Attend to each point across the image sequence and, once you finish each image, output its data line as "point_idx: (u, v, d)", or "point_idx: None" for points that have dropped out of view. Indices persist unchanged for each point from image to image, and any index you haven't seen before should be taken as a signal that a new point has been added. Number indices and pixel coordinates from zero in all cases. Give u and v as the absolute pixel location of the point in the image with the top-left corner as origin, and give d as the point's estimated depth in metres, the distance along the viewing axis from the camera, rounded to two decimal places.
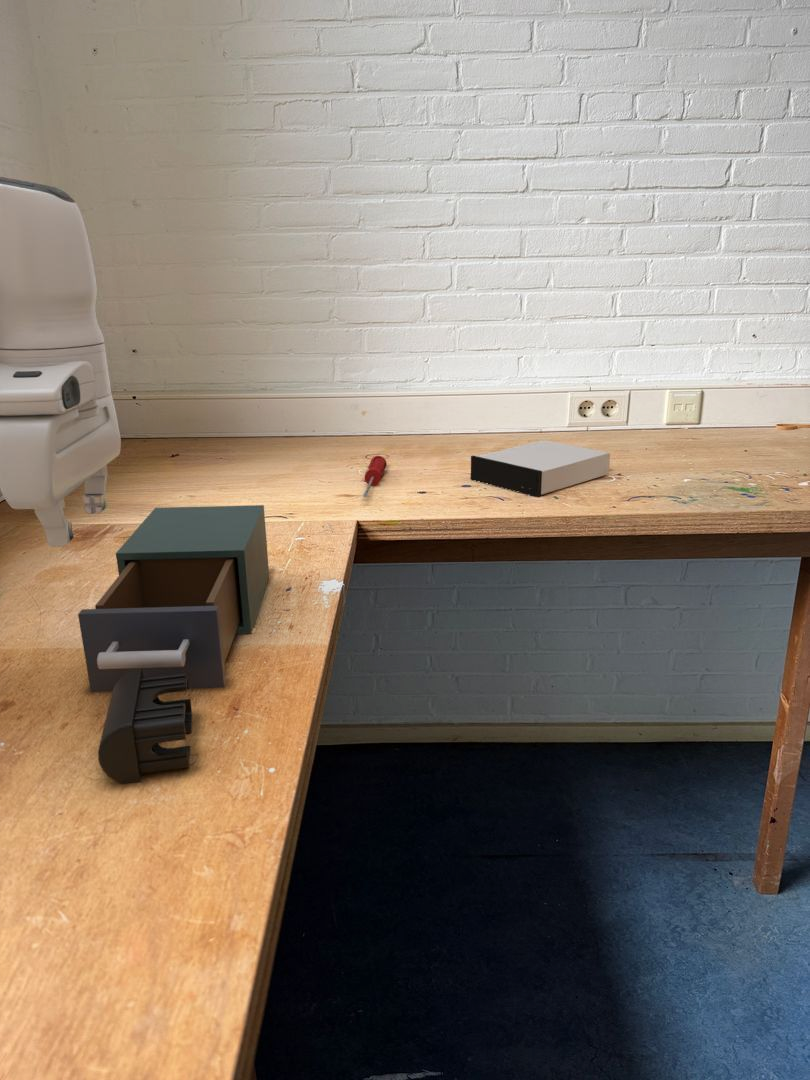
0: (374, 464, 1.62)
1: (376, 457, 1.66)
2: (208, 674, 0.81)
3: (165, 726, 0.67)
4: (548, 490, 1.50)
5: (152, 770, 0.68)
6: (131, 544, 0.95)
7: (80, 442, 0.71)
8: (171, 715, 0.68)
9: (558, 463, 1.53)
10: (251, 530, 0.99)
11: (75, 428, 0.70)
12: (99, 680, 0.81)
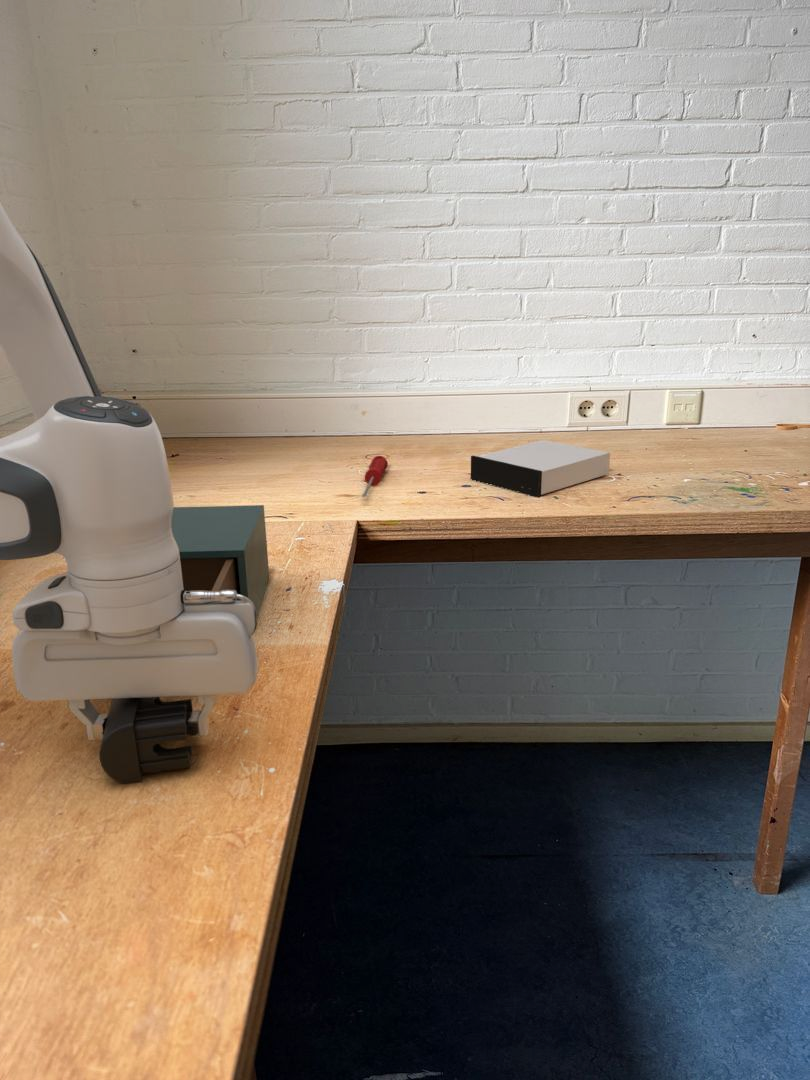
0: (375, 464, 1.62)
1: (377, 457, 1.66)
2: None
3: (166, 726, 0.67)
4: (548, 490, 1.50)
5: (153, 770, 0.68)
6: None
7: (116, 661, 0.67)
8: (172, 715, 0.68)
9: (558, 463, 1.53)
10: (251, 530, 0.99)
11: (112, 647, 0.67)
12: None
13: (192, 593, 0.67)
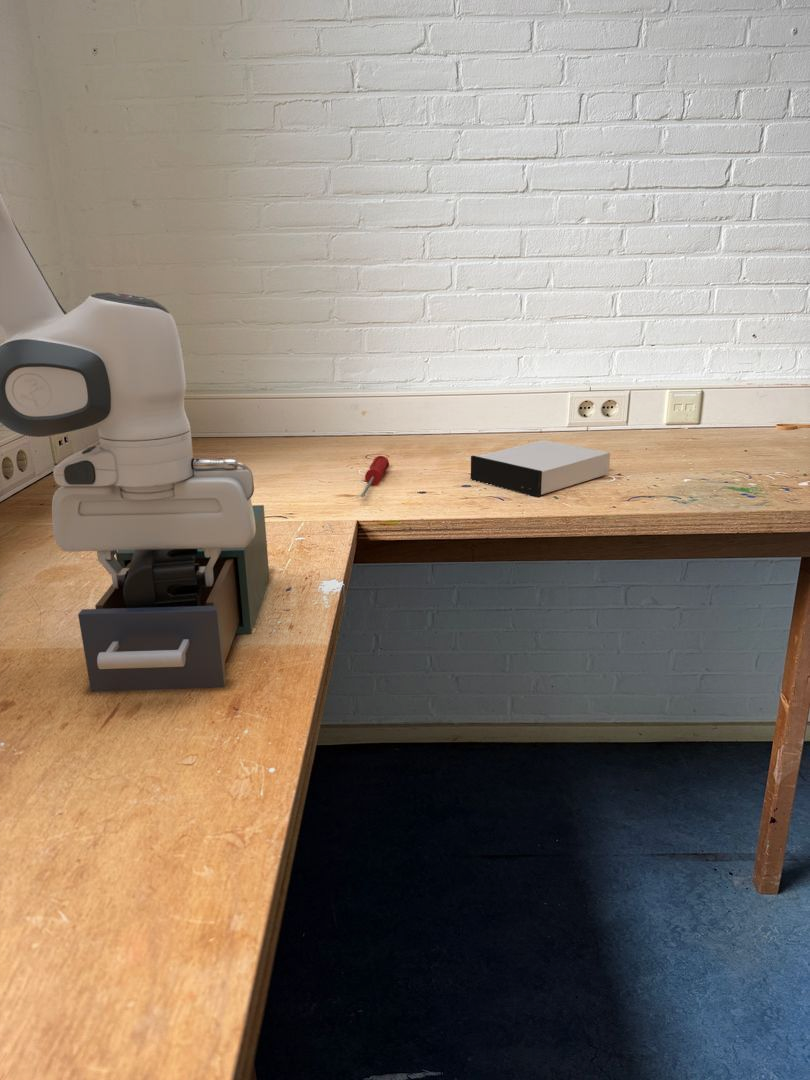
0: (376, 464, 1.62)
1: (378, 457, 1.66)
2: (208, 674, 0.81)
3: (178, 570, 0.81)
4: (548, 490, 1.50)
5: None
6: None
7: (137, 517, 0.81)
8: (183, 563, 0.82)
9: (558, 463, 1.53)
10: None
11: (134, 504, 0.81)
12: (99, 680, 0.81)
13: (200, 460, 0.81)
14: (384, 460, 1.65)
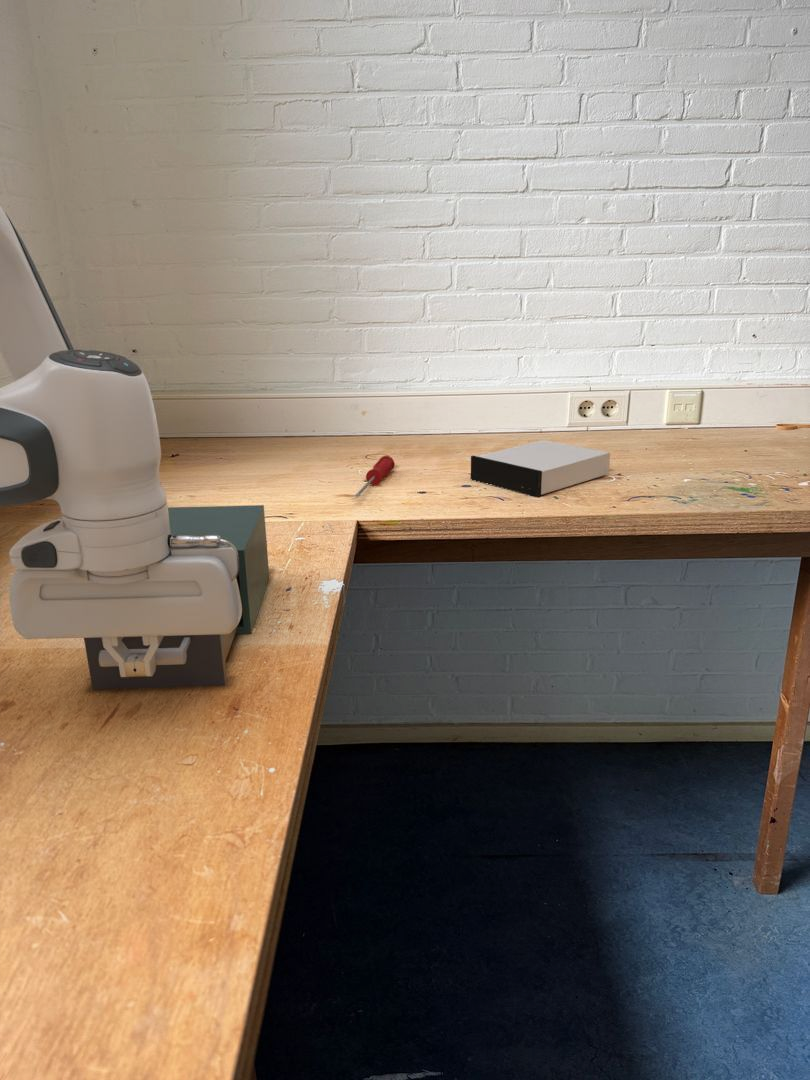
0: (379, 464, 1.62)
1: (384, 457, 1.66)
2: (209, 672, 0.82)
3: None
4: (548, 490, 1.50)
5: None
6: None
7: (106, 601, 0.71)
8: None
9: (558, 463, 1.53)
10: (251, 530, 0.99)
11: (103, 587, 0.71)
12: (100, 678, 0.82)
13: (178, 537, 0.71)
14: (389, 460, 1.65)
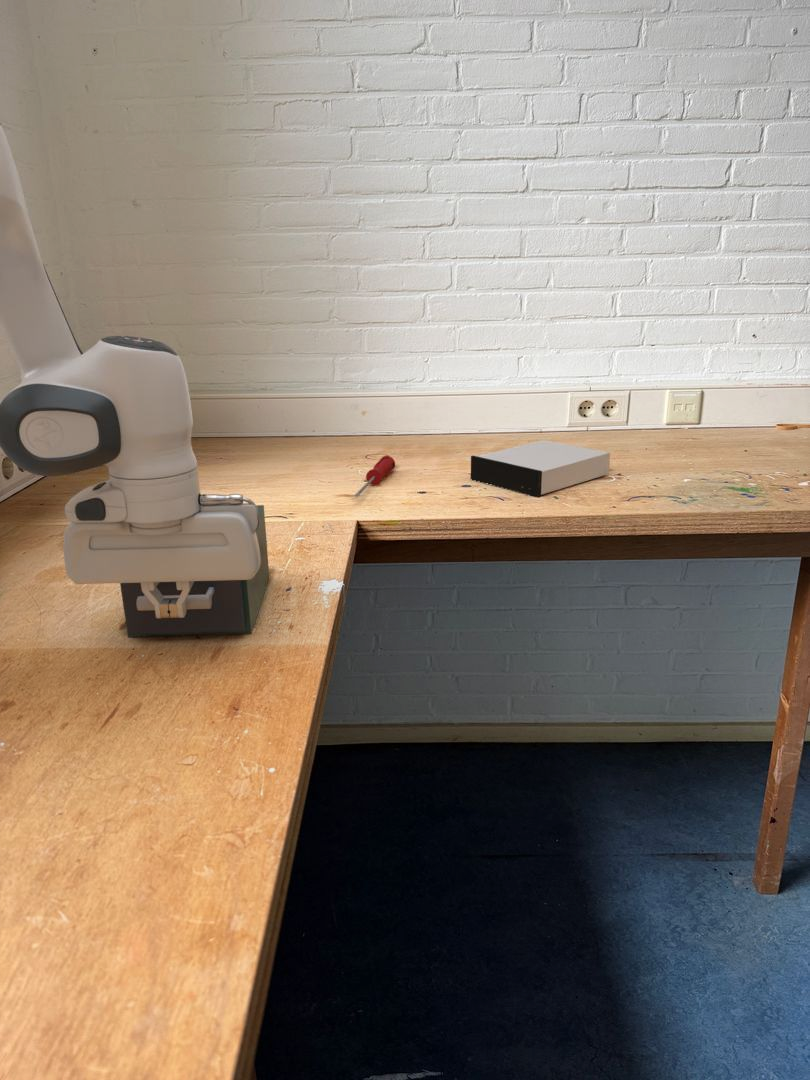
0: (379, 464, 1.62)
1: (385, 457, 1.66)
2: (230, 618, 0.94)
3: None
4: (548, 490, 1.50)
5: None
6: None
7: (146, 551, 0.84)
8: None
9: (558, 463, 1.53)
10: None
11: (143, 538, 0.83)
12: (136, 623, 0.94)
13: (207, 496, 0.83)
14: (389, 460, 1.65)
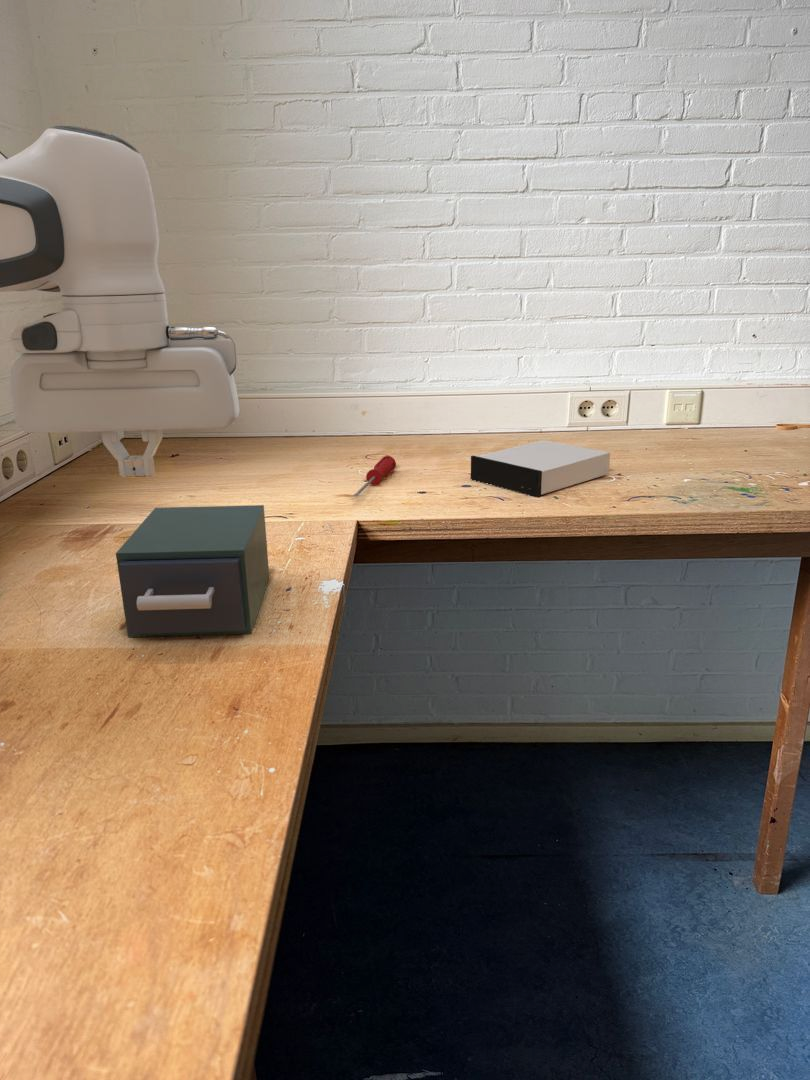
0: (380, 464, 1.62)
1: (385, 457, 1.66)
2: (230, 618, 0.94)
3: None
4: (548, 490, 1.50)
5: None
6: (131, 544, 0.95)
7: (106, 391, 0.72)
8: None
9: (558, 463, 1.53)
10: (251, 530, 0.99)
11: (102, 377, 0.72)
12: (136, 623, 0.94)
13: (176, 327, 0.72)
14: (390, 460, 1.65)
